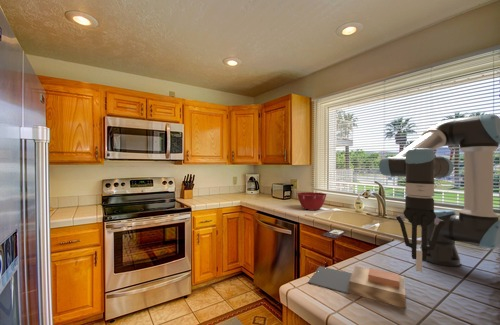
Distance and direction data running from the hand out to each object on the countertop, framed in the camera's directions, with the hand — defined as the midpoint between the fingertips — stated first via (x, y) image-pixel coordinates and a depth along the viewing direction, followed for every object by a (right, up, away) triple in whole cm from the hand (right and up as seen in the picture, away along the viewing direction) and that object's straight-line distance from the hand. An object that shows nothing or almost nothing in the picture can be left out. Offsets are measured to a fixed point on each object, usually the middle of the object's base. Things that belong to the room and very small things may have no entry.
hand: (418, 269), depth 75 cm
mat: (-23, -10, +14) cm, 29 cm away
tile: (-8, -6, +5) cm, 12 cm away
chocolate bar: (-1, -12, +72) cm, 73 cm away
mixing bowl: (+7, -12, +157) cm, 157 cm away
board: (-10, -10, +6) cm, 16 cm away
